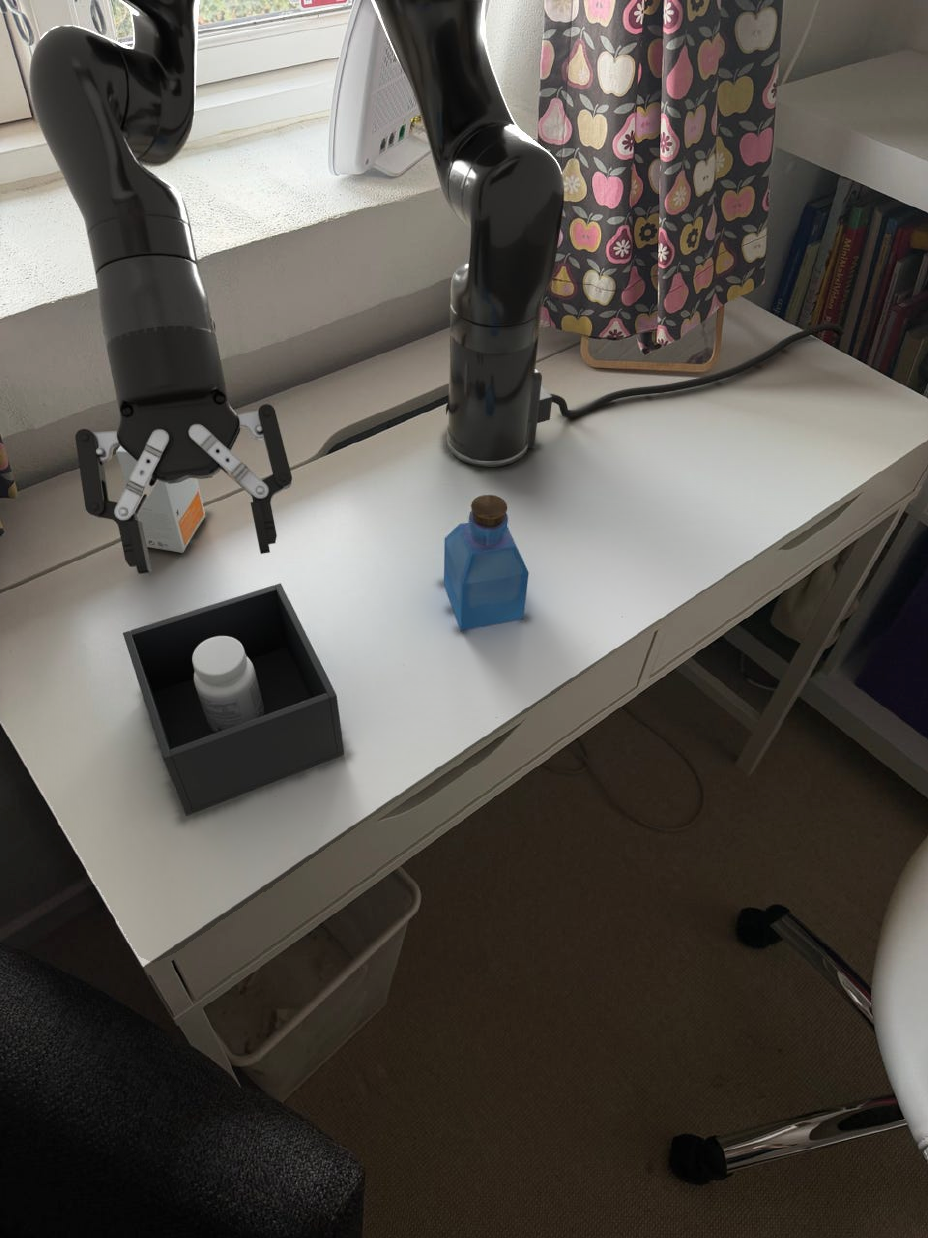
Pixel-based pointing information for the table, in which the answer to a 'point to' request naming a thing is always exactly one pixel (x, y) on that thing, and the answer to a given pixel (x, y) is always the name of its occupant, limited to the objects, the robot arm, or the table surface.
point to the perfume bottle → (484, 567)
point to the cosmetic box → (167, 509)
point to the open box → (288, 684)
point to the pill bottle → (226, 683)
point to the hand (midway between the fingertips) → (206, 562)
